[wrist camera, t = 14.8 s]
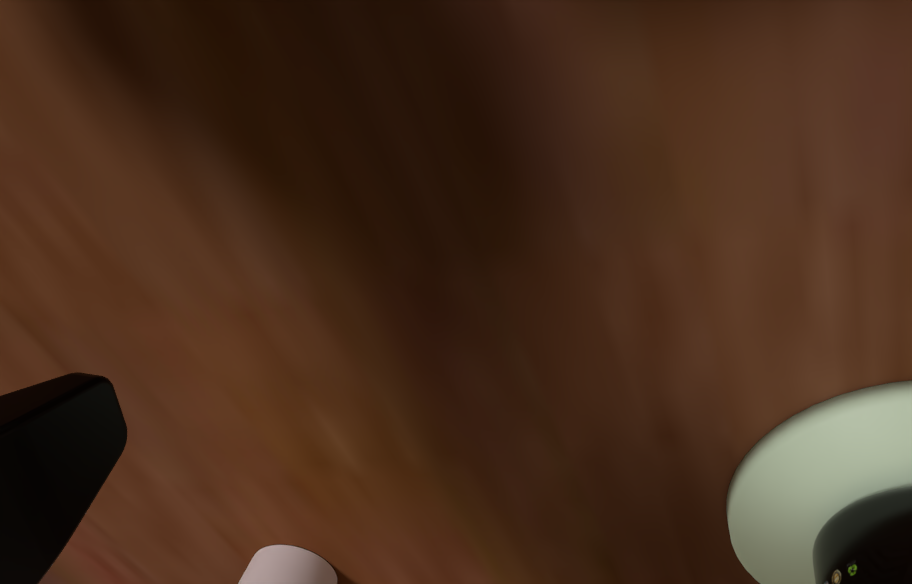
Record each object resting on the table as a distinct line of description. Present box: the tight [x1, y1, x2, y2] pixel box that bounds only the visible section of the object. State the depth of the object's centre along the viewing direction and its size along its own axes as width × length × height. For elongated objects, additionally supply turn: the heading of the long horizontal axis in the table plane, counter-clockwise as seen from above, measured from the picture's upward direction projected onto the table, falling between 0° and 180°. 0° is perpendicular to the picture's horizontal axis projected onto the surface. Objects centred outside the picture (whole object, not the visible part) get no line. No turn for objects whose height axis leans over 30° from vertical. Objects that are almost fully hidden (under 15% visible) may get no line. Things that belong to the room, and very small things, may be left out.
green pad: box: [726, 380, 912, 584], centre depth 25 cm, size 11×11×1 cm
